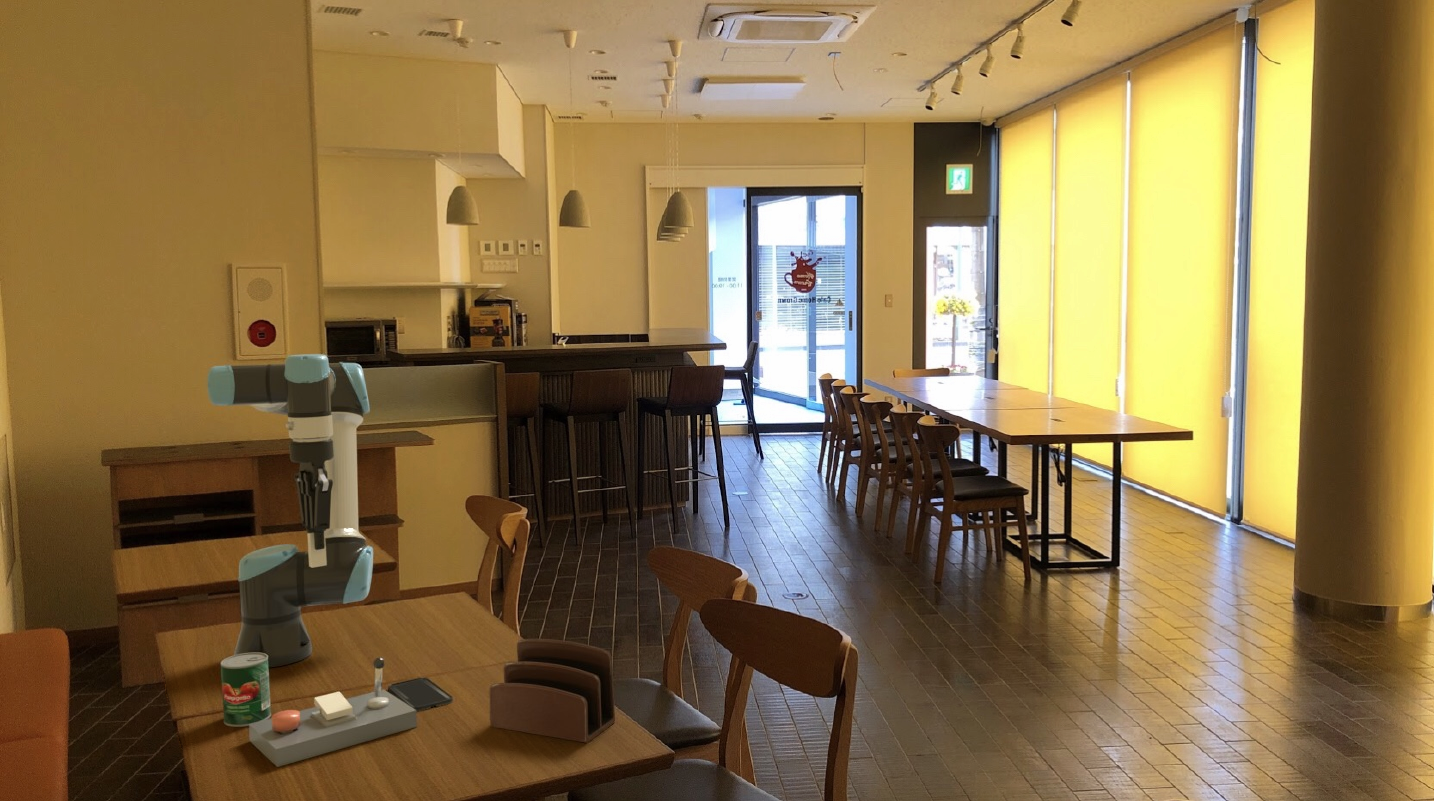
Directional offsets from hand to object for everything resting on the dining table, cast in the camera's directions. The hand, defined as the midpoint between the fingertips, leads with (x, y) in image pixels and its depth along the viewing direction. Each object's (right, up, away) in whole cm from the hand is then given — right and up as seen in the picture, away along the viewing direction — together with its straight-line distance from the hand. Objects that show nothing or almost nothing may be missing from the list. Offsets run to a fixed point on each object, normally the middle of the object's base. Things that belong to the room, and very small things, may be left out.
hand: (317, 565), depth 197 cm
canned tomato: (-11, -27, -4) cm, 30 cm away
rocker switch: (+7, -23, -12) cm, 27 cm away
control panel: (+7, -27, -12) cm, 31 cm away
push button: (+1, -27, -17) cm, 32 cm away
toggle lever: (+13, -23, -7) cm, 27 cm away
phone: (+17, -26, +6) cm, 32 cm away
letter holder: (+45, -27, -9) cm, 53 cm away
